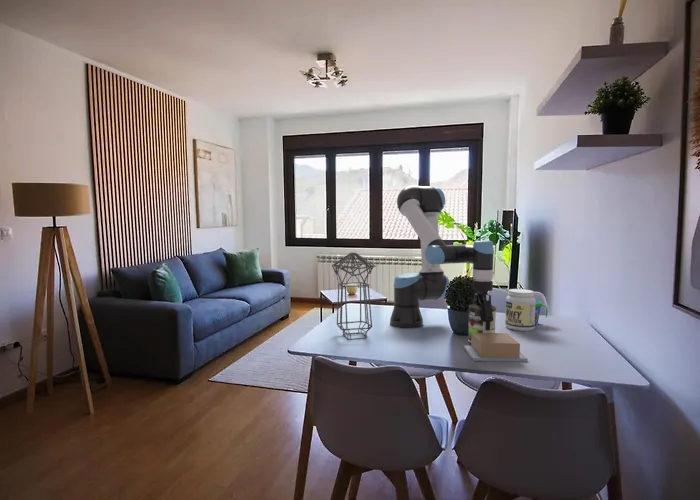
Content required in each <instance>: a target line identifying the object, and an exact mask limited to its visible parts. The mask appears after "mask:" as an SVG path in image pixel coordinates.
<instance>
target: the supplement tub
mask: <svg viewBox="0 0 700 500" xmlns="http://www.w3.org/2000/svg"><path fill="white" fill-rule="evenodd" d="M507 294H508V295H506V297H505V316H504V317H505V320H504V324H505V327H506V328H507V329H510V330H512V331H519V332H529V331H533V330H534V329H535V327H536V324H535V302H536V301H537V300H536V298H535V297H534V290H530V289H525V288H524V289H522V288H509V289H508V292H507ZM535 300H536V301H535Z"/></svg>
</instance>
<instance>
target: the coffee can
mask: <svg viewBox="0 0 700 500" xmlns="http://www.w3.org/2000/svg"><path fill="white" fill-rule="evenodd" d="M496 311H497V307H496V306H495V305H492V314H493V321H491V333H496V316H497V315H496ZM483 319H484V317H483V309H482V306H480V305H476V304H473V303H472V304H468V330H467V331H468V332H467V334H468V337H467V341H468V342H469V343H470V344H471V333H483V321H482V320H483Z"/></svg>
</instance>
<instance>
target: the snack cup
mask: <svg viewBox="0 0 700 500" xmlns="http://www.w3.org/2000/svg"><path fill="white" fill-rule="evenodd" d="M535 301H536V302H535V325H537V324H538V323H539V318H540V314H541V307H545V311H546V312H545V318H547V317H548V314H549V313H548V312H549V310H548V307H547V305H546V304H545V303H543V302H542V301H540V300H537V299H535ZM536 323H537V324H536Z"/></svg>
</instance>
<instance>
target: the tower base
mask: <svg viewBox="0 0 700 500" xmlns="http://www.w3.org/2000/svg"><path fill="white" fill-rule="evenodd" d="M463 349H464V351H466V353H467V354H468V355H469V357H470V358H471V360H472V361H473V362H475V361H476V362H525V363H526V362H527V363H528V357H526V356H525V355H524V354H522V352H521V351H520V350H521V343H520V342H519V341H518V340H516V339H515V338H514V337H512V336H511V335H510V334H508V332H505V333H503V332H497V333H496V332H495V333H471V343H470V345H464V346H463Z"/></svg>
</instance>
